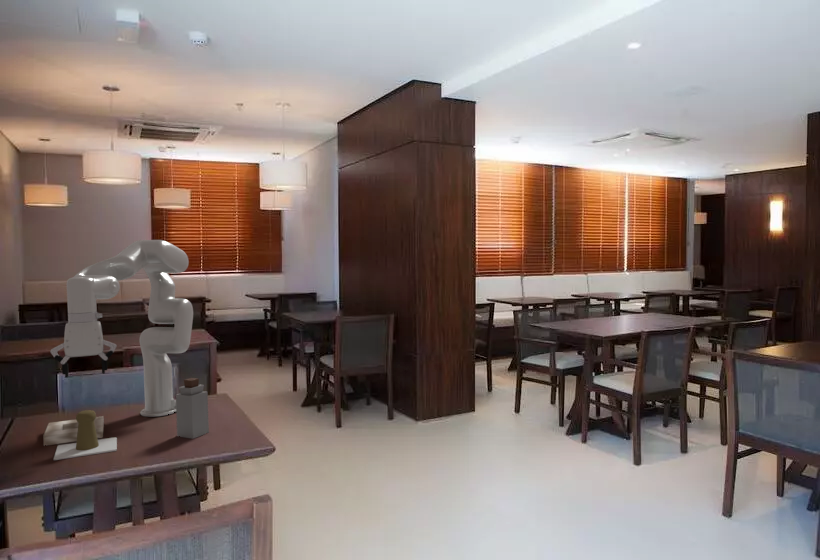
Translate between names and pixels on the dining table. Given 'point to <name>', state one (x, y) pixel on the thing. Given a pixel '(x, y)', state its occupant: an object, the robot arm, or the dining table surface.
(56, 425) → the shaker holder
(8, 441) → the dining table surface
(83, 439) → the cork
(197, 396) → the perfume bottle
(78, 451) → the grey mat
